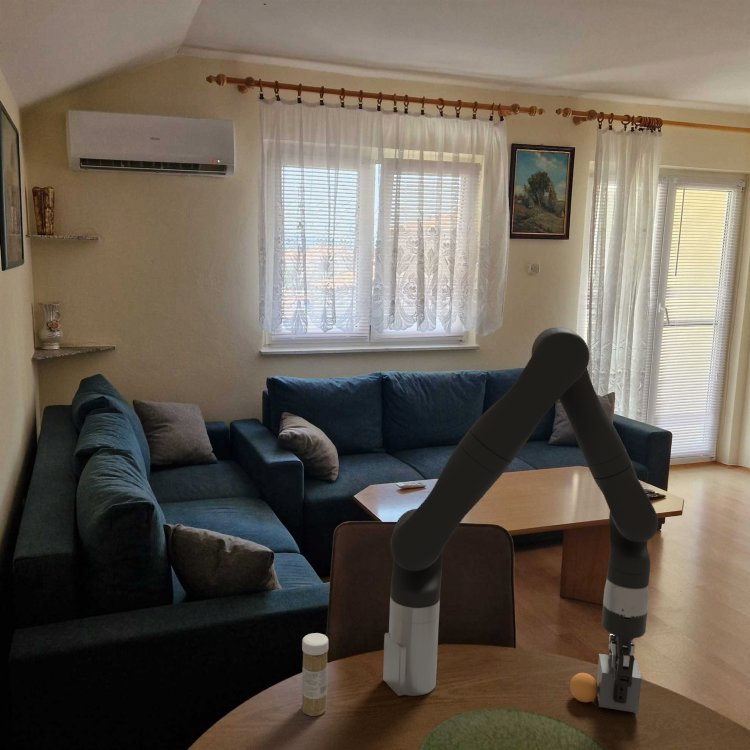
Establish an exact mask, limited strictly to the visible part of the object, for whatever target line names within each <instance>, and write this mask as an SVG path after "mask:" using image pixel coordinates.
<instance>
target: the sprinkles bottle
mask: <svg viewBox="0 0 750 750" xmlns="http://www.w3.org/2000/svg"><path fill="white" fill-rule="evenodd" d="M301 641H302V643H301V645H302V646H301V649H302V675H301V677H302V678H301V693H302V698H301V700H302V701H301V702H302V703H301V710H302V712H303V714H306V715H308V716H310V717H311V716H312V717H316V716H320V715H323V714H324V713H325V712H326V710H327V709H328V707H327V705H328V704H327V693H328V652H329V638H328V636H326V634H323V633H319V632H315V633H313V632H312V633H308V634H307V635H305V636H304V637H303V638H302V640H301Z"/></svg>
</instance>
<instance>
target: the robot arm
mask: <svg viewBox="0 0 750 750" xmlns="http://www.w3.org/2000/svg"><path fill="white" fill-rule="evenodd" d="M589 363H590V349H589V347H588V344H587V342H586V341H585V340H584V339H583V338H582V336H580V335H579V334H578V333H577V332H575V331H573V330H572V329H569V328H566V327H563V326H562V327H561V326H553V327H551V328H547V329H545V330H543V331H542V332H541V333H539V334H538V336H537V337H536V338H535V340H534V342H533V344H532V347H531V357H530V358H529V360H528V362H527V364H526V365H525V367H524V368H523V369H522V371H521V372H520V374H519V376H518V377H517V379H516V381H514V383H513V385H512V386H511V387H510V388H509V390H507V392H506V393H505V394H504V395H502V396H501V398H499V399H498V400H497V401H496V402H495V403H493V404H492V405H491V406H490V407H489V408H488V409H487V410H486V411H485V412H484V413H483V414H482V415H481V416H480V417H478V419H477V420H476V421H475V422H474V423H473V424H472V425H471V427H470V429H469V430H468V431H467V432H466V434H465V435H464V436H463V438H462V439H461V440H460V441H459V443H458V444H457V445H456V447H455V448H454V451H453V452H452V454H451V455H450V457H449V458H448V459H447V462H446V463H445V465H444V467H443V469H442V470H441V473H440V475H439V476H438V478H437V481H436V482H435V484H434V486H433V488H432V489H431V491H430V493H429V494H428V496H427V497H425V499H424V500H423V501H422V503H421V504H420V505H419V506H418V507H417V508H411V509H409V510H407V511H405V512H404V513H403V514H402V515H400V517H399V518H398V519H397V521H396V523H395V526H394V528H393V530H392V531H393V532H392V534H391V538H390V551H391V556H392V560H393V564H392V572H391V581H390V597H389V598H390V599H389V600H390V601H389V619H388V620H389V622H388V623H389V624H388V632H385V633H384V642H383V668H382V669H383V671H382V672H383V674H382V680H383V681H384V682H385V683H386V685H387V686H388V687H390V689H391V690H392V691H393V692H394V693H395V694H396V695H397V696H398V697H401V696H412V697H417V696H423V695H427V694H429V693H431V692H432V691H433V690H434V689H435V687H436V685H437V665H438V663H437V662H438V646H439V645H438V643H439V621H440V620H439V619H440V603H441V602H440V601H441V600H440V599H441V588H442V587H441V584H442V575H443V574H442V573H443V571H442V569H443V556H444V555H443V552H444V549H445V547H446V545H447V544H448V542H449V540H450V539H451V537H452V535H453V534H454V532H455V531H456V529H457V528H458V527H459V525H460V524H461V522H462V521H463V520H464V518H465V517H466V516H467V514H469V513H470V511H471V510H473V508H474V507H475V506H476V505H477V504H478V503H479V502H480V501H481V499H482V498H483V497H484V496H485V495H486V494H487V493H488V491H489V490H490V489H491V488H492V486H493V485H494V484H495V483H496V482H497V481H498V480H499V479H500V477H501V476H502V475H503V473H504V472H505V471H506V470H507V469H508V467H509V466H510V465H511V463H512V462H513V461H514V459H515V458H516V457H517V456H518V454H519V453H520V451H521V449H522V448H523V447H524V445H525V444H526V443H527V441H528V440H529V438H530V437H531V436H532V434H533V433H534V432H535V430H536V428H537V427H538V425H539V423H540V422H541V421H542V419H543V418H544V417H545V415H546V414H547V413H548V411H549V410H550V409H551V408H553V405H555V404H556V403H557V402H558V401H559V402H560V404H561V406H562V409H563V410H564V412H565V415H566V416H567V419H568V421H569V423H570V427H571V428H572V431H573V434H574V435H575V439H576V442H577V444H578V447H579V449H580V451H581V454H582V456H583V459H584V460H585V463H586V465H587V468H588V470H589V472H590V473H591V474H590V475H591V476H592V478H593V480H594V482H595V483H596V484H595V485H596V486H597V487H598V489H599V490H600V491H601V493H602V495H603V497H604V500H605V502H606V505H607V507H608V509H609V513H608V514H609V515H608V516H609V517H608V526H609V529H608V531H609V556H608V563H607V573H606V581H605V584H604V590H603V601H602V612H601V614H602V616H601V626H602V628H603V629H604V630H605V632H607V633H608V634H609V635H608V636H609V637H608V639H609V643H608V652H609V654H608V655H611V656H612V667H613V668H614V670H615V673H614V674H615V675H614V692H613V700H614V702H617V703H626V701H627V690H628V687H631V685H632V674H633V665H634V661H635V659H636V658H635V655H634V654H635V649H636V645H635V643H633V642H634V639H639V638H640V637H643V636H644V635H645V634H646V629H647V628H646V627H647V619H648V610H649V599H650V597H649V596H650V593H649V583H650V575H651V574H650V572H651V557H650V553H649V550H648V541H650V540H651V539H652V538H654V536H655V535H656V533H657V531H658V528H659V518H658V514H657V512H656V510H655V508H654V505H653V503H652V501H651V499H650V498H649V496H648V494H647V492H646V491H645V489H644V487H643V485H642V484H641V482H640V480H639V477H638V476H637V473H636V470H635V467H634V464H633V462H632V460H631V458H630V456H629V454H628V451H627V449H626V446H625V444H624V443H623V441H622V439H621V436H620V434H619V433H618V431H617V429H616V427H615V425H614V424H613V422H612V420H611V419H610V416H609V415H608V414H607V411H606V410H605V408H604V407H603V405H602V403H601V400H600V398H599V397H598V396H599V395H597V393H596V390H595V387H594V385H593V382H592V380H591V377H590V374H589V370H588V366H589ZM616 661H618V664H617V663H616ZM620 675H626V677H622V676H620Z"/></svg>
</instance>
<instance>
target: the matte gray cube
mask: <svg viewBox="0 0 750 750" xmlns="http://www.w3.org/2000/svg"><path fill="white" fill-rule="evenodd" d="M616 663H617V664H618V661H616ZM614 673H615V670H614V668H613V667H612V656H611V655H609V654H604V653H599V654H598V663H597V673H596V676H597V677H596V682H597V684H598V694H597V700H598V701H597V703H598V707H599V708H605V709H611V710H612V709H613V710H617V711H618V710H619V711H624V712H631V713H635V714H638V713H639V706H640V705H639V704H640V697H641V696H640V695H641V686H642V685H641V684H642V675H641V672H640V668H639V665H638V660H637V658H635V661H634V665H633V674H632V685H631V687H628V690H627V701H626V703H617V702H614V700H613V692H614V675H615V674H614ZM620 676H622V677H626V675H620Z"/></svg>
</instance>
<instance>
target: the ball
mask: <svg viewBox="0 0 750 750" xmlns="http://www.w3.org/2000/svg"><path fill="white" fill-rule="evenodd" d="M569 688H570V692H571V694H572V696H573V697H574V698H575V699H576V701H579V702H582V703H591V702H592V701H594V700H596V697H598V695H597V694H598V684H597V679H595V677H593V676H592V675H591V674H589V673H586V672H579V673H576V674H575V675H573V677H572V678H571V679H570V683H569Z"/></svg>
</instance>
